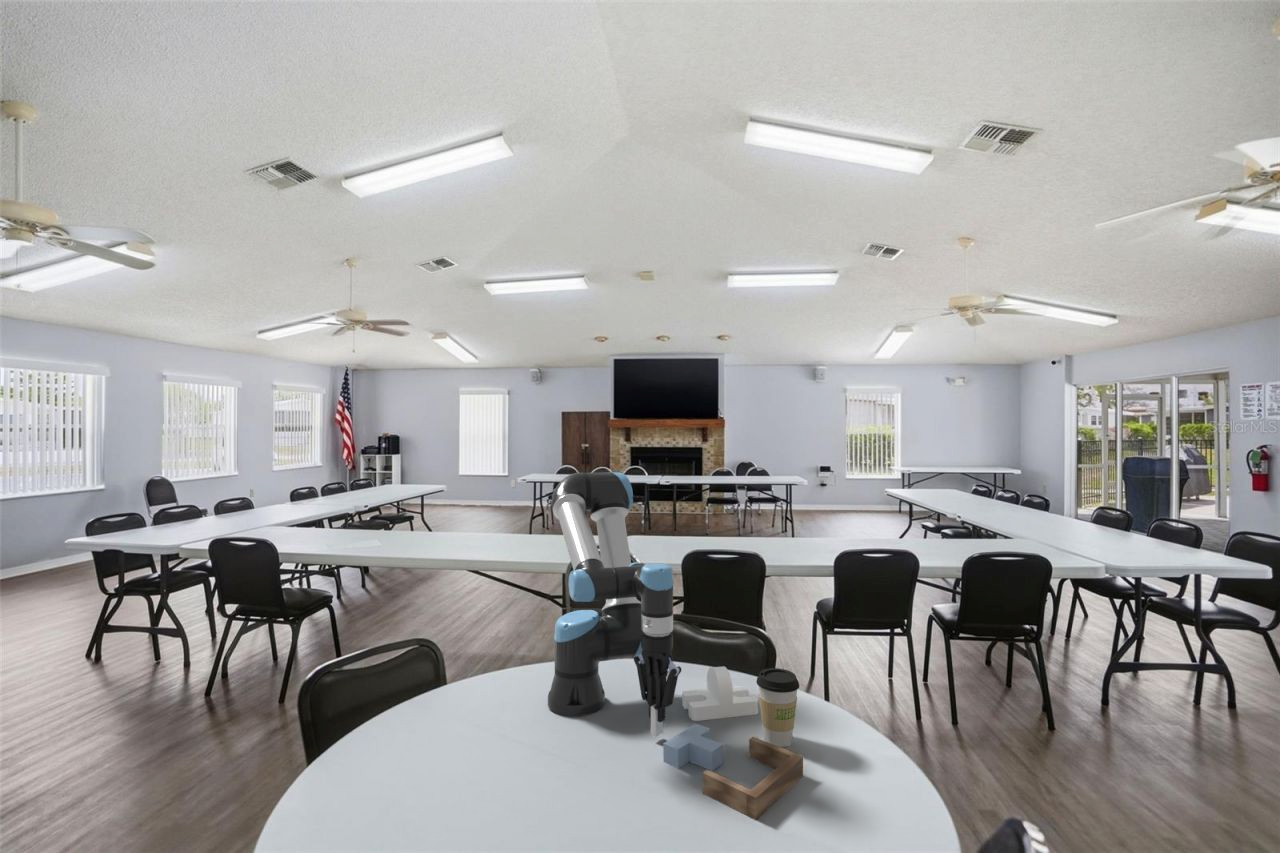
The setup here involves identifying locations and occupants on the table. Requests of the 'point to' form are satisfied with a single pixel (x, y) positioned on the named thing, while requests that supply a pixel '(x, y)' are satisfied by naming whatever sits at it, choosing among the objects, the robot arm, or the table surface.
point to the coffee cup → (777, 704)
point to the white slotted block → (719, 698)
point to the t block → (693, 749)
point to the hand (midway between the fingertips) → (656, 733)
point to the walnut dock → (763, 792)
